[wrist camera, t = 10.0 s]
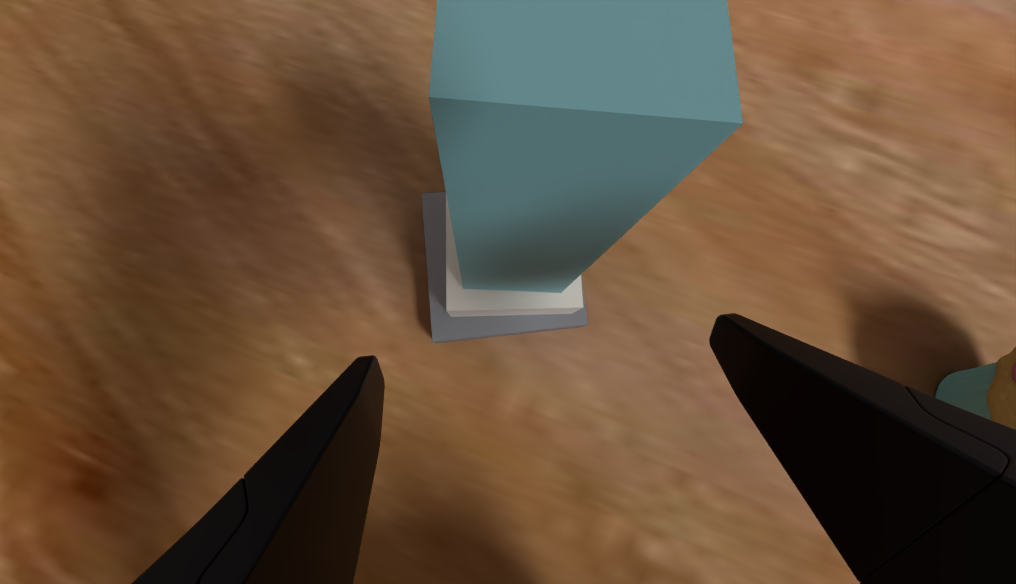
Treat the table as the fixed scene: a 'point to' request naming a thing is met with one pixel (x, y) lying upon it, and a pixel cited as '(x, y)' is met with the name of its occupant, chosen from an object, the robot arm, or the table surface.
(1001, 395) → the cupcake
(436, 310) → the tower base slab
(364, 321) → the table surface
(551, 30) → the teal pillar
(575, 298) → the tower top slab
